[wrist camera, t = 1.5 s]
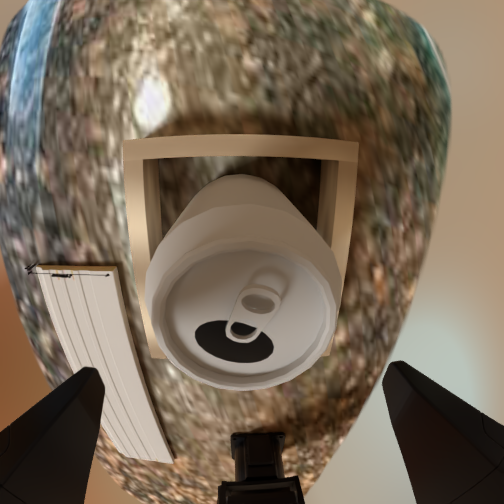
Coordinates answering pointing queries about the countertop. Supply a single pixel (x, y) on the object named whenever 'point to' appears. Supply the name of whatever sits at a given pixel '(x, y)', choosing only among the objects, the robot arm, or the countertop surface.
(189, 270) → the can
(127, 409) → the baseboard
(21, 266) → the countertop surface
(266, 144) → the rack
